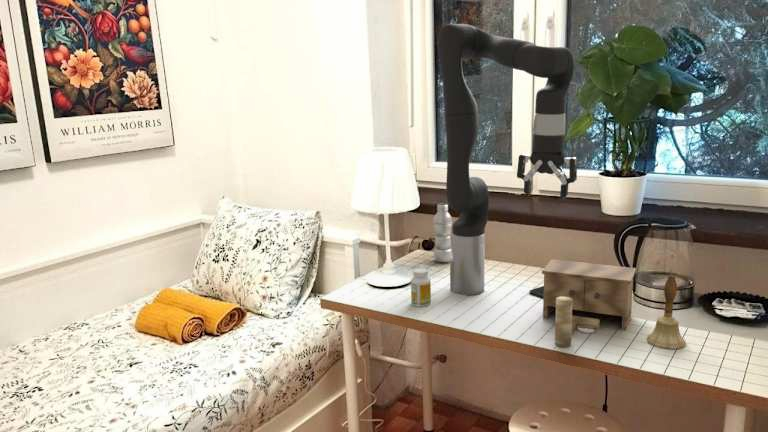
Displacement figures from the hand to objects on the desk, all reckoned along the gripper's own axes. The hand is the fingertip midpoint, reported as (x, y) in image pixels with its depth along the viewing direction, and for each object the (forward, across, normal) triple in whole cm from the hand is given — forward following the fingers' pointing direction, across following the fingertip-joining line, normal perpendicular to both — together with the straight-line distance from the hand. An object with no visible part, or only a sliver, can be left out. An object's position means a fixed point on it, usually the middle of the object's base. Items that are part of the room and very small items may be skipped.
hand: (545, 197), depth 152 cm
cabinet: (+31, -12, -2) cm, 33 cm away
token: (+31, -14, +7) cm, 34 cm away
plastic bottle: (+34, +42, -32) cm, 63 cm away
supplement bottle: (+32, +31, +7) cm, 45 cm away
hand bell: (+30, -31, +6) cm, 44 cm away
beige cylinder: (+30, -11, +11) cm, 34 cm away
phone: (+32, -2, -14) cm, 35 cm away
